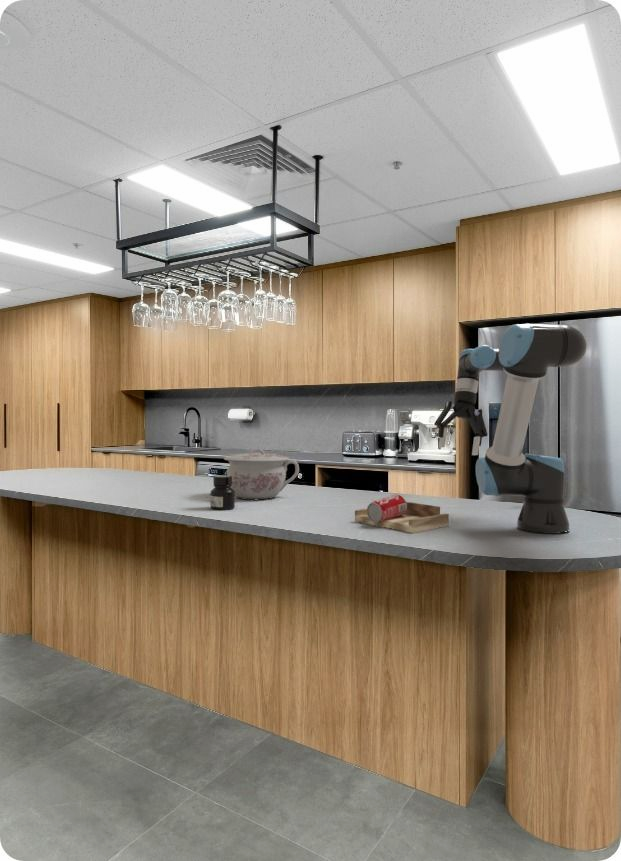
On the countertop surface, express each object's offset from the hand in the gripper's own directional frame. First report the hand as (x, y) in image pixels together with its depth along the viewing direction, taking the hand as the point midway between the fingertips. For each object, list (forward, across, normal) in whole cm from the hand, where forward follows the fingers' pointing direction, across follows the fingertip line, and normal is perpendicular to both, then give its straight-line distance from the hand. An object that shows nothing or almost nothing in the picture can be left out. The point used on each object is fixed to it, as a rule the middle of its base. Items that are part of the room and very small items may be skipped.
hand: (458, 451), depth 209 cm
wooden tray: (+29, +21, +6) cm, 36 cm away
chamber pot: (+26, +53, -64) cm, 87 cm away
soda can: (+22, +21, +3) cm, 31 cm away
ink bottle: (+34, +71, -40) cm, 88 cm away
